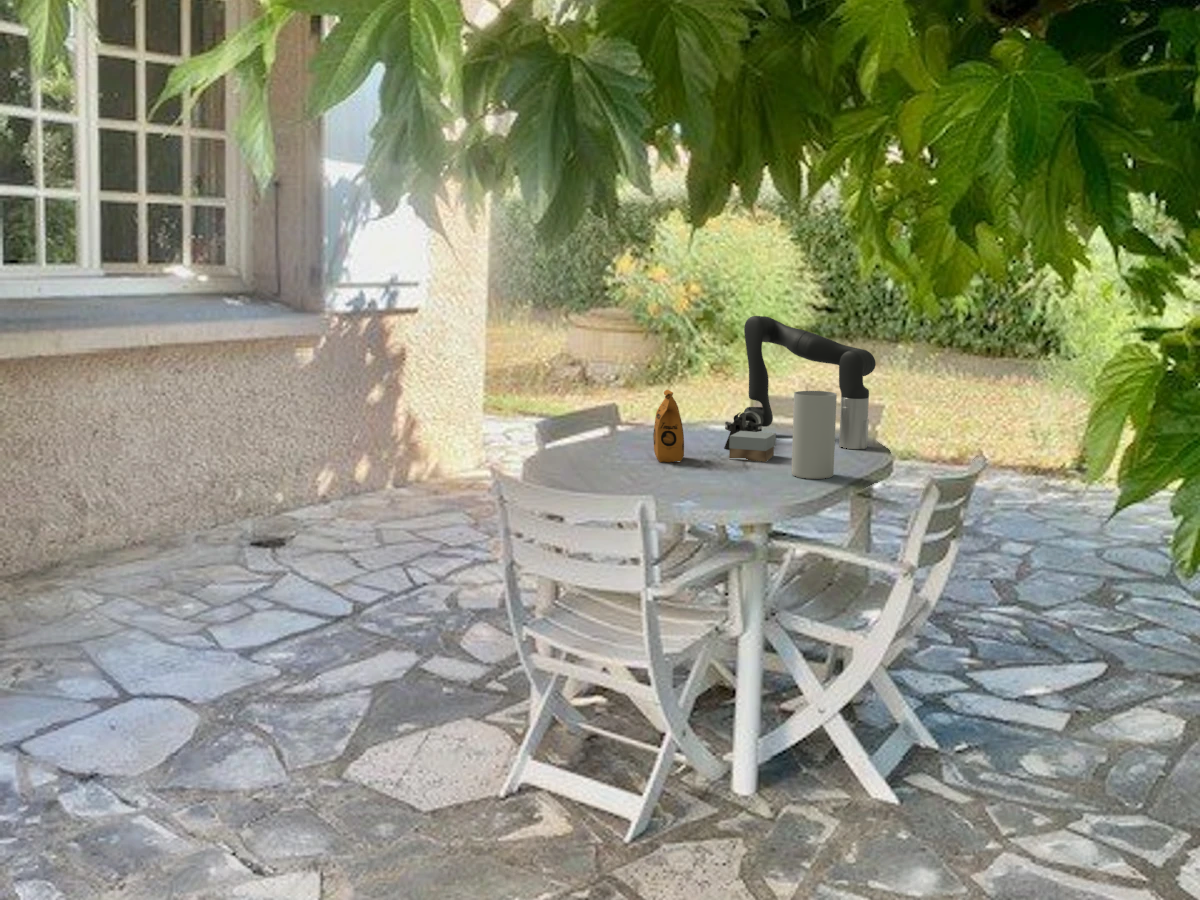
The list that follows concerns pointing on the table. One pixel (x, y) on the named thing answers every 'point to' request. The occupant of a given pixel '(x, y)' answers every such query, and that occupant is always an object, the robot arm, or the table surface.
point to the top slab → (752, 440)
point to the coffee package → (668, 431)
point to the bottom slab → (752, 454)
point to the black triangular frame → (737, 422)
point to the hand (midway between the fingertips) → (737, 430)
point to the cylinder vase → (813, 434)
